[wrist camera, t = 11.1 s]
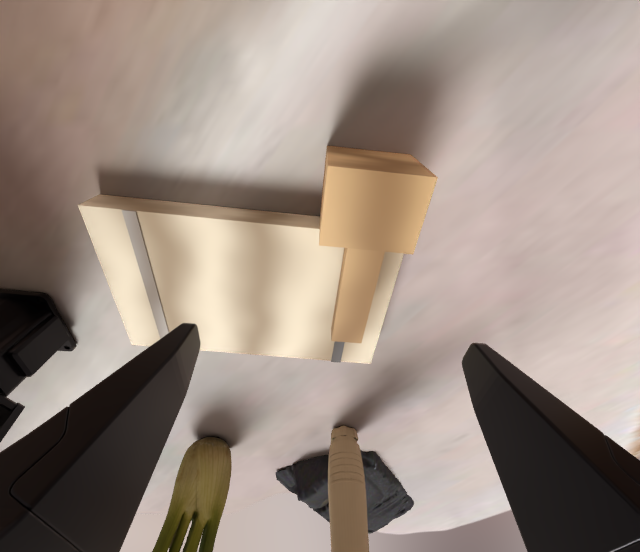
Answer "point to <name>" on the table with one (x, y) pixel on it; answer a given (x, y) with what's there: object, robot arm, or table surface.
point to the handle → (347, 493)
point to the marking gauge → (369, 223)
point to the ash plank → (228, 277)
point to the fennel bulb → (197, 497)
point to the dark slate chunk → (380, 483)
